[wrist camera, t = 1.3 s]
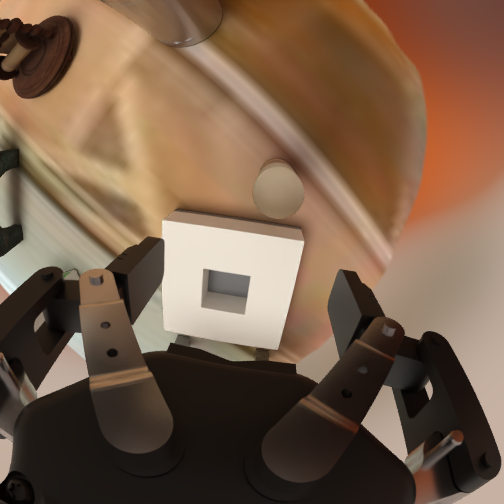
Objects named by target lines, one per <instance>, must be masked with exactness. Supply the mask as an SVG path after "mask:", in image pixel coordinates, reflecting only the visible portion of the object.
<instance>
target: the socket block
mask: <svg viewBox="0 0 504 504" xmlns="http://www.w3.org/2000/svg"><path fill="white" fill-rule="evenodd" d="M162 239H164V242H165V255H164V276H163V280H162V296H163V318H164V330H167V331H171V332H176V333H180V334H185V335H190V336H195V337H200V338H205V339H210V340H216V341H221V342H227V343H233V344H239V345H246V346H252V347H259V348H267V349H274V350H278V347H279V343H280V340H281V336H282V332H283V328H284V325H285V321H286V317H287V313H288V309H289V305H290V301H291V297H292V293H293V289H294V285H295V281H296V277H297V272H298V268H299V264H300V259H301V255H302V250H303V246H304V238H303V235H302V231H301V228H300V227H295V226H289V225H283V224H277V223H271V222H265V221H258V220H252V219H245V218H238V217H232V216H225V215H218V214H211V213H203V212H196V211H188V210H181V209H176V210H174V211H173V212H172V213H171V214H169V215H168V216H167V217H165V218H164V219H163V220H162Z"/></svg>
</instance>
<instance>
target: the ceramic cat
mask: <svg viewBox="0 0 504 504" xmlns="http://www.w3.org/2000/svg"><path fill="white" fill-rule="evenodd" d="M18 153H19V150H18V149H12V150H5V151H0V177H1V176H2V175H3V174H4V173H5V172H6V171H8V170H10V169H12V168H15V167H18V166H19V163H18ZM22 240H23V233H22V227H21V225H17V224H15V225H12V226H9V227H6V228H1V227H0V257H1V256H4V255H5V254H6V253H7V252H9V251H10V250H11V249H12V248H14V247H15V246H16V245H17V244H19V243H20V242H21V241H22Z"/></svg>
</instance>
